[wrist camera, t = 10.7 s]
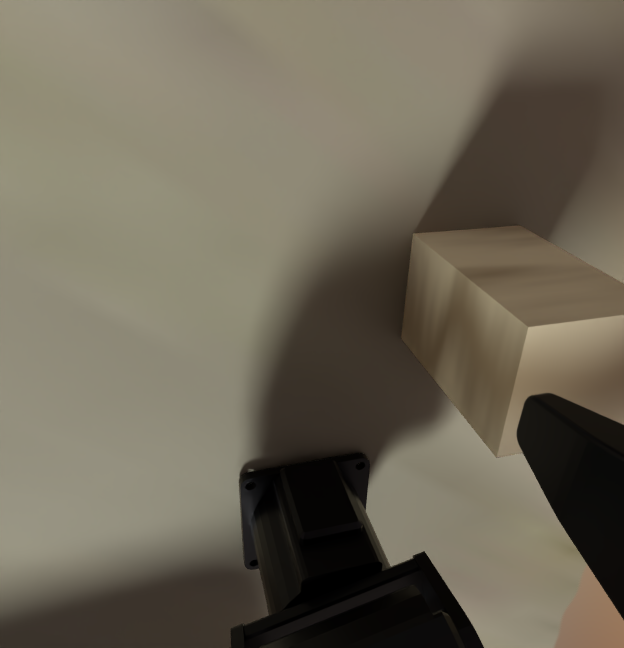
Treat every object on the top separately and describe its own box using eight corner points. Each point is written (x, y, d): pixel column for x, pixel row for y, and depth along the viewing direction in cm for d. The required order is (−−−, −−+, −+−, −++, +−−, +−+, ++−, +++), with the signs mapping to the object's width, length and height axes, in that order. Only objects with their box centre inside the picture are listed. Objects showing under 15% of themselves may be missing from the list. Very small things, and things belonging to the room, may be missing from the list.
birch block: (498, 326, 26) (621, 434, 20) (400, 338, 25) (496, 458, 18) (519, 225, 24) (668, 309, 17) (412, 233, 23) (528, 327, 16)
